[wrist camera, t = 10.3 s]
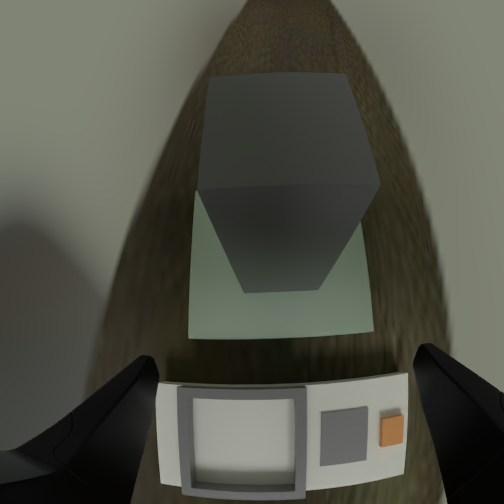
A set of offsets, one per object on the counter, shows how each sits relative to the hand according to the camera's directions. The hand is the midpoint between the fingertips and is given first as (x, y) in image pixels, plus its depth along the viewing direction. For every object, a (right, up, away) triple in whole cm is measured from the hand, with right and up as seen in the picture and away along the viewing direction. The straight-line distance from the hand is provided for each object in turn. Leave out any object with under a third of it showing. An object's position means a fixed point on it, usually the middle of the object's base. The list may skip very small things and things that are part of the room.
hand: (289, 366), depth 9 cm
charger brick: (0, +3, +8) cm, 8 cm away
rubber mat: (0, +3, +8) cm, 9 cm away
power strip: (+1, -6, +5) cm, 8 cm away
